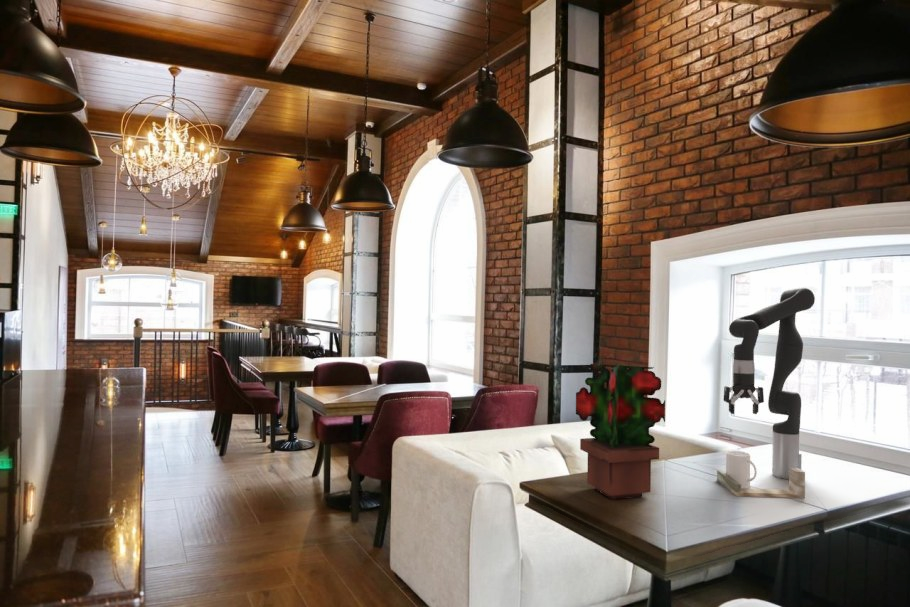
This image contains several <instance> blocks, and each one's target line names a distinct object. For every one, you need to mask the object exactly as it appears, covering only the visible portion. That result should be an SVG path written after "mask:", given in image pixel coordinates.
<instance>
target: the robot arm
mask: <svg viewBox="0 0 910 607" xmlns="http://www.w3.org/2000/svg"><path fill="white" fill-rule="evenodd" d="M815 300H816V299H815V293H814V292H813V291H812V290H811V289H809V288H807V287H798V288H791V289H786V290H784V291H783V292H782V293H781V295H780V298H779V302H776V303H773V304H772V305H767V306H765V307H763V308H761V309H759V310H757V311H755V312H753V313H752V314H749V315H745V316H742V317H737V318H736V319H734V320H733V321H732V322H730V325H729V327H728V328H729V329H728V330H729V333H730V335H731V336H732V337H734V338H737V339H738V338H739V339H742V341H741V343H738V344H735V345H734V347H733V362H732V386H727V385H725V386H724V387H723V388H724V389H723V402H725V403H727V404H728V412H729V413H730V414H731V415H734V414H735V402H736V401H738V400H739V399H750V400H751V402H752V414H754V415H758V413H759V405H760V404H761V403H762V404H763V403H764V402H765V399H764V396H765V395H764V388H763V386H757V387H756V386H755V374H756V373H755V371H756V370H755V359H754V358H755V355H754V354H755V347H756V345H757V340H758V337H759V334H760V333H759V332H760V331H761V330H764V329H766V328H768V327H771V326H772V325H774V324H776V323H777V322H778V321H779V325H778V336H777V343H776V350H775V359H774V368H773V376H772V380H771V385H770V389H769V395H768V399H767V400H768V401H767V406H768V410H769V412H770V413H771V414H775V415H784V416H787V419H786V420H784V421H781V422H776V423H774V424H773V425H772V454H771V455H772V456H771V457H772V458H771V459H772V463H771V464H772V465H771V475H772V476H773V477H775V478H779V479H784V480H789V468H799V469H801V470H802V458H803V457H802V453H801V452H800V429H801V428H800V427H801V414H802V397H801V395H800V393H799V392H796V391H788V390H787V391H786V390H784V389H783V388H784V385H785V382H786V381H787V379H788V378H789V377H790V375H791V374H792V373H793V372H794V370H795V369H797V367H798V366H799V365H800V363H801V362H802V358H803V352H804V342H803V339H802V337H801V335H800V333H799V331H798V328H797V327H796V315H797V313H800V312H803V311H807V310H809V309H811V308H812V307H813V306H814V305H815ZM732 392H733V394H732V395H731V396H730V393H732ZM755 392H756V393H757V397H756V395H754V393H755Z"/></svg>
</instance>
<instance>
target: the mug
mask: <svg viewBox="0 0 910 607" xmlns="http://www.w3.org/2000/svg"><path fill="white" fill-rule="evenodd" d="M751 465H752V467H753V469H754V470H753V471H754V475H753V476H752V477H751ZM756 467H757V466H756V465H755V463H754V462H753V461H752V460H751V454H750V453H748V452H745V451H739V450H727V451H726V452H725V473H726V474H727V475H729V476H730V477H731V478H733V479H734V480H735V481H737V482H738V483H740V484H741V489H751V482H753V481H754V480H755V479H756V477H757V468H756Z"/></svg>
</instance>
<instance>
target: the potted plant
mask: <svg viewBox="0 0 910 607" xmlns="http://www.w3.org/2000/svg"><path fill="white" fill-rule="evenodd" d="M606 367H611V368H610V369H609V368H606ZM654 368H655V366H654V367H653V366H648V367H647V366H638V365H637V366H635V365H634V366H633V365H627V363H623V364H620V365H618V364H617V365H615V364H614V365H613V364H601V363H600V364H598V363H590V369H591V370H592V371H594V372H595V371H596V372H599V373H597V374H596V375H595V377H587V378H586V379H585V380H584V383H585V385H586V386H589V387H590V390H588V388H586V387H584V386H583V387H581V388H580V389H579V391H576V392H575V414H576V415H577V416H579V419H580V420H581V421H585V422H586V421H587V420H588V418H589V417H593V418H591V419H590V420H589V423H590V426H591V427H594V428H592V429H591V430H590V431H589V434H590V436H591V437H588V438H587V437H586V438H580V442H579V443H580V446H579V448H580V450H581V451H583V452H585V453H587V475H586V476H587V478H586V479H587V484H589V485H590V486H593V488H594V490H595V489H597V490H599V491H601V492H602V493H604V494H605V495H607V496H609V497H610V498H609V497H608V498H609V499H611V498H612V499H611V500H615V499H614V498H622V499H628V498H627V497H633V498H642V497H643V494H644V493H645V494H646V493H647V494H648V493H651V490H652V489H651V487H652V486H651V475H652V472H651V469H652V466H651V464H652V463H651V461H653V460H655V461H656V460H660V447H659V446H655V445H652V444H653V443H654V442H655V441H656V439H655V437H654V436H653V435H652V434H650V428H654V427H655V424H657V423H660V422H661V421H662V420H663V422H664V423H666V399H664V401H663V403H662V400H661V399H659V398H657V397H650V396H653V395H655V393H656V391H660V390H661V389H662V380H661V378H660V377H658V376H656V373H655V372H654V371H651V370H652V369H654ZM645 369H649V370H645ZM610 370H611V372H610ZM605 384H606V385H605ZM605 386H606V388H605ZM646 396H649V397H646ZM597 490H596V491H597ZM602 493H601V494H602ZM604 494H603V495H604ZM605 495H604V496H605ZM607 496H606V497H607ZM641 496H642V497H641Z"/></svg>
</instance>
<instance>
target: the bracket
mask: <svg viewBox="0 0 910 607" xmlns="http://www.w3.org/2000/svg"><path fill="white" fill-rule="evenodd" d="M716 481H717V482H718V483H719V484H720V485H722V486H723V487H725V488H726V489H727V490H728V491H729V492H731V493H732V494H733V495H735V496H736V497H758V498H759V497H763V498H791V499H793V498H794V499H796V498H797V499H798V498H799V499H805V498H806V471H805V470H802V468H801V469H799V468H789V479H788V481H789V482H788V489H771V488H768V489H767V488H744V489H743V488H741V484H740V483H738V482H737V481H735V480H734V479H733V478H731V477H730V476H729V475H727V474H726V472H724V471H723V470H721V469H717V470H716Z"/></svg>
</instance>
